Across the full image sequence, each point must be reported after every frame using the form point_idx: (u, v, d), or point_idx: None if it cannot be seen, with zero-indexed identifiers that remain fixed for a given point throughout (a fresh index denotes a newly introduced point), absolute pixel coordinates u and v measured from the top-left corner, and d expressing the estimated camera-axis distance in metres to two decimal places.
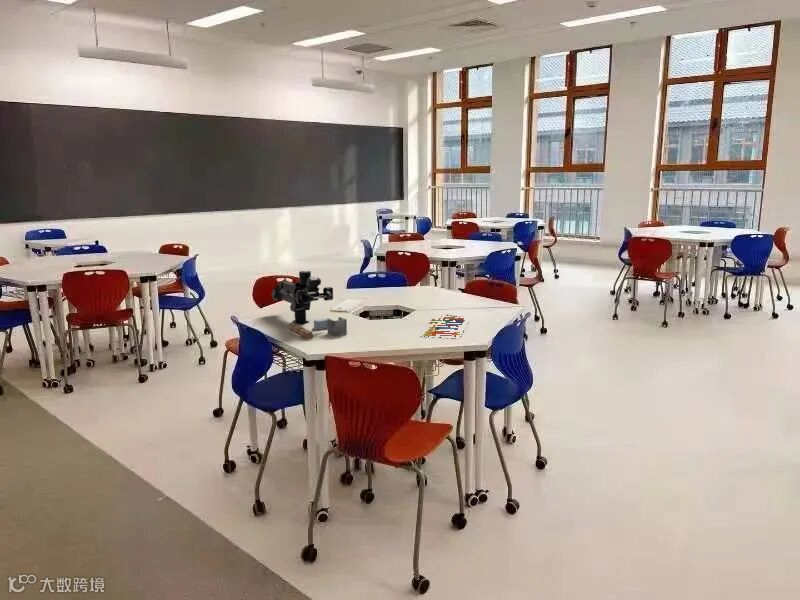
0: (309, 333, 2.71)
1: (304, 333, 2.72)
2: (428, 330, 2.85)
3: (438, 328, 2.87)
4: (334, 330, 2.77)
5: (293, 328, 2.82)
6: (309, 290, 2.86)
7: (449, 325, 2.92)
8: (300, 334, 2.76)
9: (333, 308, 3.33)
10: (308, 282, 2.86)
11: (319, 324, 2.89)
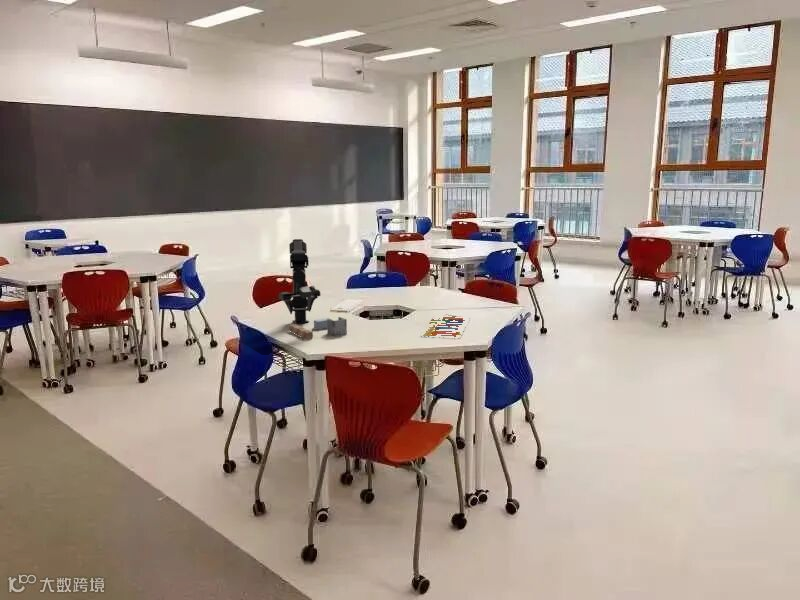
0: (309, 333, 2.71)
1: (304, 333, 2.72)
2: (428, 330, 2.85)
3: (438, 328, 2.87)
4: (334, 330, 2.77)
5: (293, 328, 2.82)
6: (297, 293, 2.72)
7: (449, 325, 2.92)
8: (300, 334, 2.76)
9: (333, 308, 3.33)
10: (300, 294, 2.69)
11: (319, 324, 2.89)
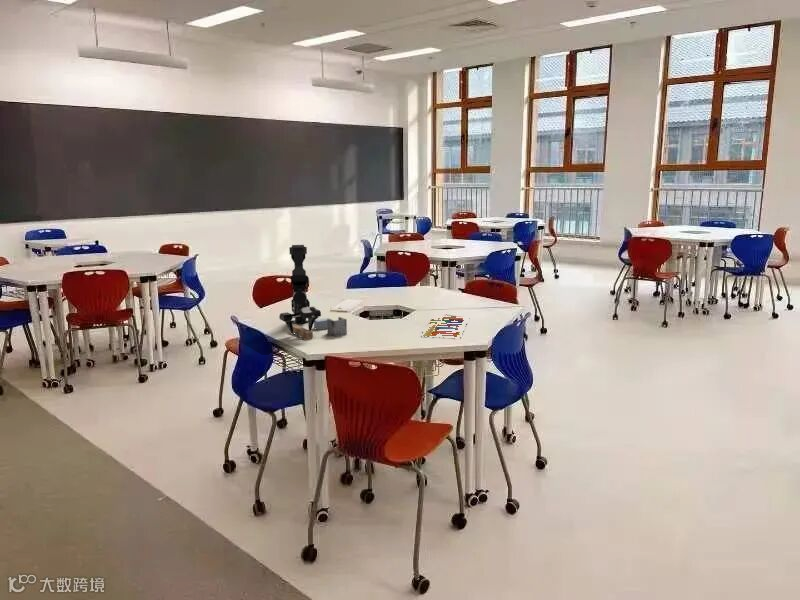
0: (309, 333, 2.71)
1: (304, 333, 2.72)
2: (428, 330, 2.85)
3: (438, 328, 2.87)
4: (334, 330, 2.77)
5: (293, 328, 2.82)
6: None
7: (449, 325, 2.92)
8: (300, 334, 2.76)
9: (333, 308, 3.33)
10: (301, 315, 2.71)
11: (319, 324, 2.89)
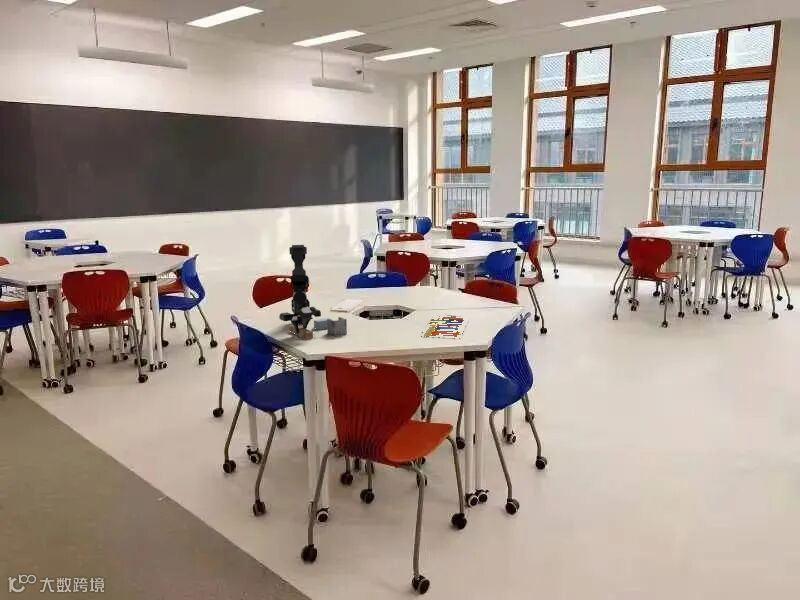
0: (309, 333, 2.71)
1: (304, 333, 2.72)
2: (428, 330, 2.85)
3: (438, 328, 2.87)
4: (334, 330, 2.77)
5: (293, 328, 2.82)
6: None
7: (449, 325, 2.92)
8: (300, 334, 2.76)
9: (333, 308, 3.33)
10: (301, 315, 2.71)
11: (319, 324, 2.89)
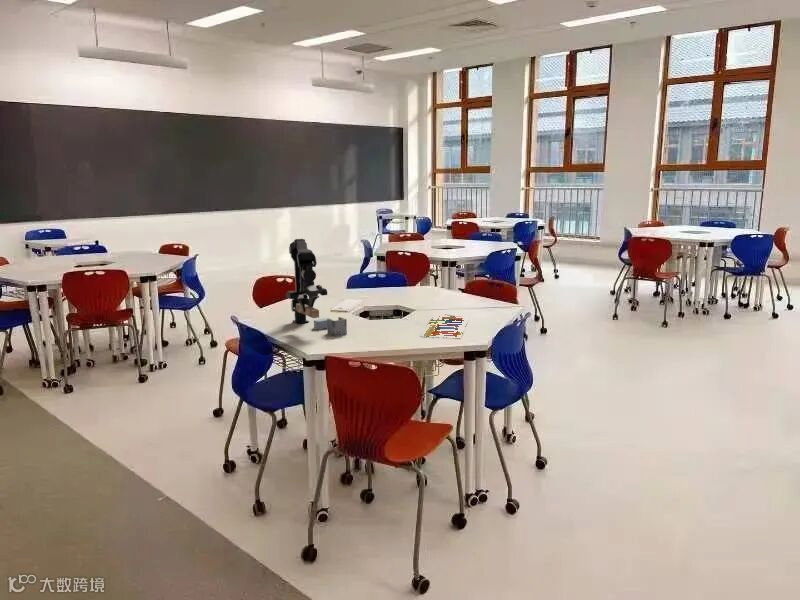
0: (315, 311, 2.71)
1: (310, 311, 2.72)
2: (428, 330, 2.85)
3: (438, 328, 2.87)
4: (334, 330, 2.77)
5: (299, 307, 2.82)
6: None
7: (449, 325, 2.92)
8: (306, 312, 2.76)
9: (333, 308, 3.33)
10: (307, 293, 2.71)
11: (319, 324, 2.89)
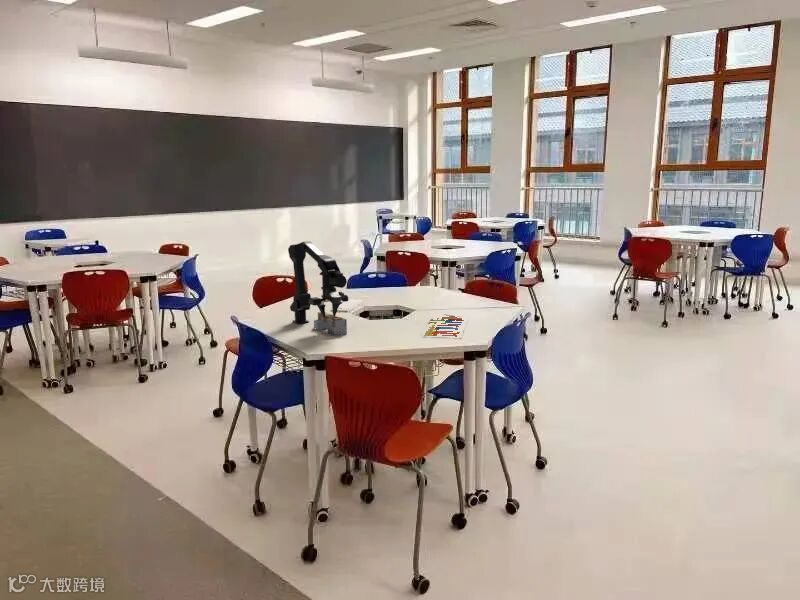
0: (338, 319, 2.79)
1: (333, 319, 2.80)
2: (428, 330, 2.85)
3: (438, 328, 2.87)
4: (334, 330, 2.77)
5: (321, 315, 2.89)
6: None
7: (449, 325, 2.92)
8: None
9: None
10: (330, 299, 2.78)
11: (319, 324, 2.89)
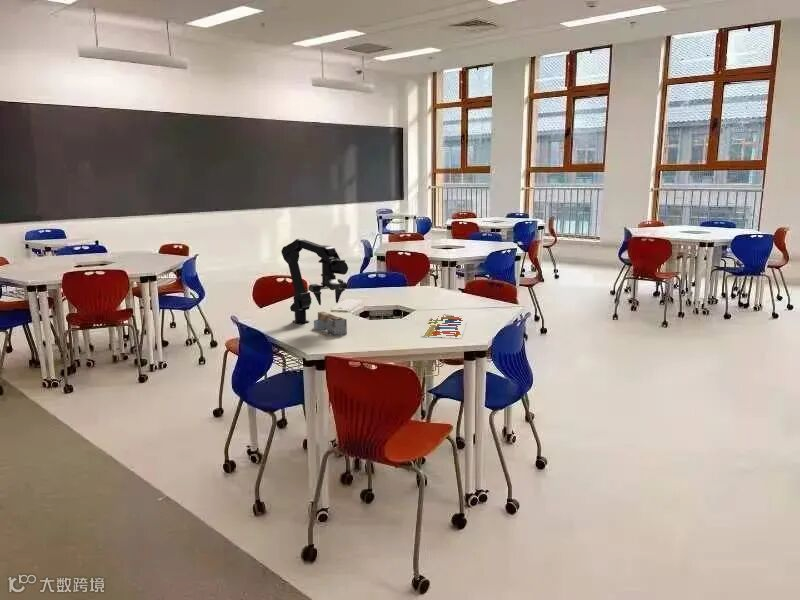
0: (338, 319, 2.79)
1: (333, 319, 2.80)
2: (428, 330, 2.85)
3: (438, 328, 2.87)
4: (334, 330, 2.77)
5: (321, 315, 2.89)
6: (326, 286, 2.86)
7: (448, 325, 2.93)
8: None
9: (333, 308, 3.33)
10: (329, 286, 2.83)
11: (319, 324, 2.89)
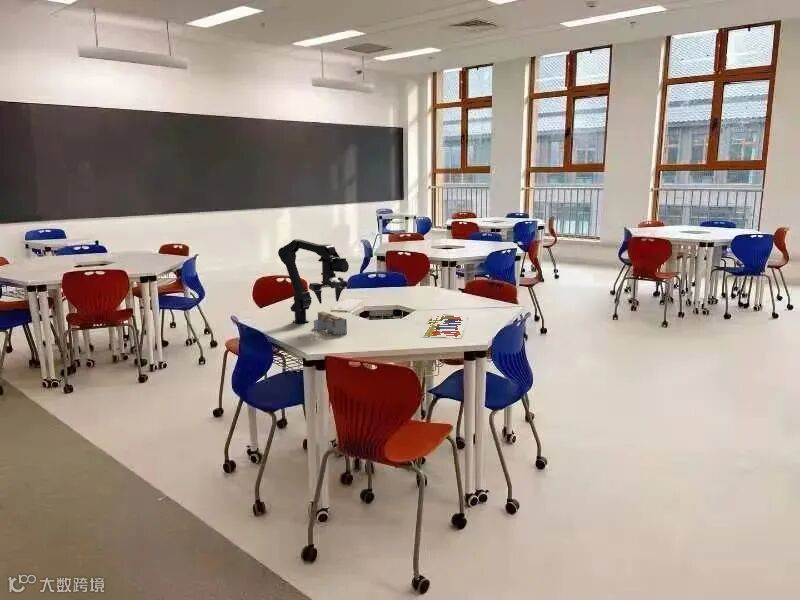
0: (338, 319, 2.79)
1: (333, 319, 2.80)
2: (428, 330, 2.85)
3: (438, 328, 2.87)
4: (334, 330, 2.77)
5: (321, 315, 2.89)
6: (326, 284, 2.88)
7: (448, 325, 2.93)
8: None
9: (333, 308, 3.33)
10: (330, 284, 2.85)
11: (319, 324, 2.89)
